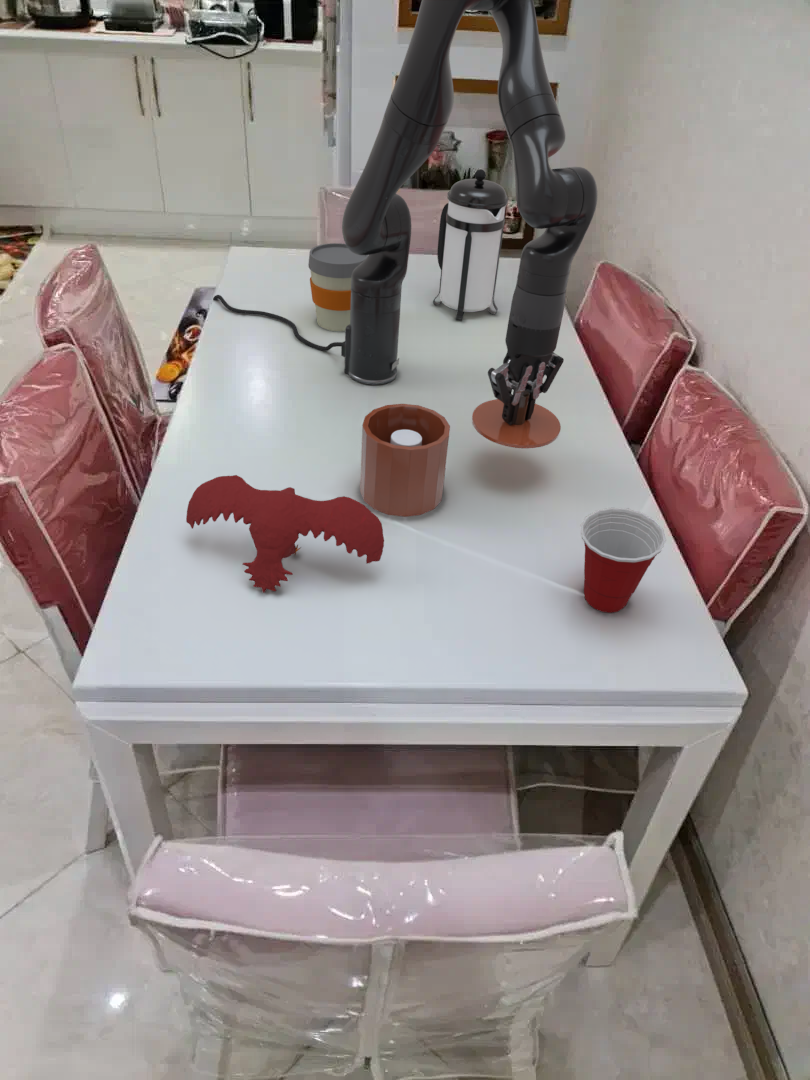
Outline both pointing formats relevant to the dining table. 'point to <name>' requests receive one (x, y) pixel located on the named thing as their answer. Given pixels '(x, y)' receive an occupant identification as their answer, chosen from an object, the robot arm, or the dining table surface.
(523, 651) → the dining table surface
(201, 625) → the dining table surface
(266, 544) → the decorative bird sculpture
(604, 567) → the plastic cup
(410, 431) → the pill bottle
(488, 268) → the coffee press
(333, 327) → the reusable coffee cup
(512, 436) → the lid
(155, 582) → the dining table surface
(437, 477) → the pot
